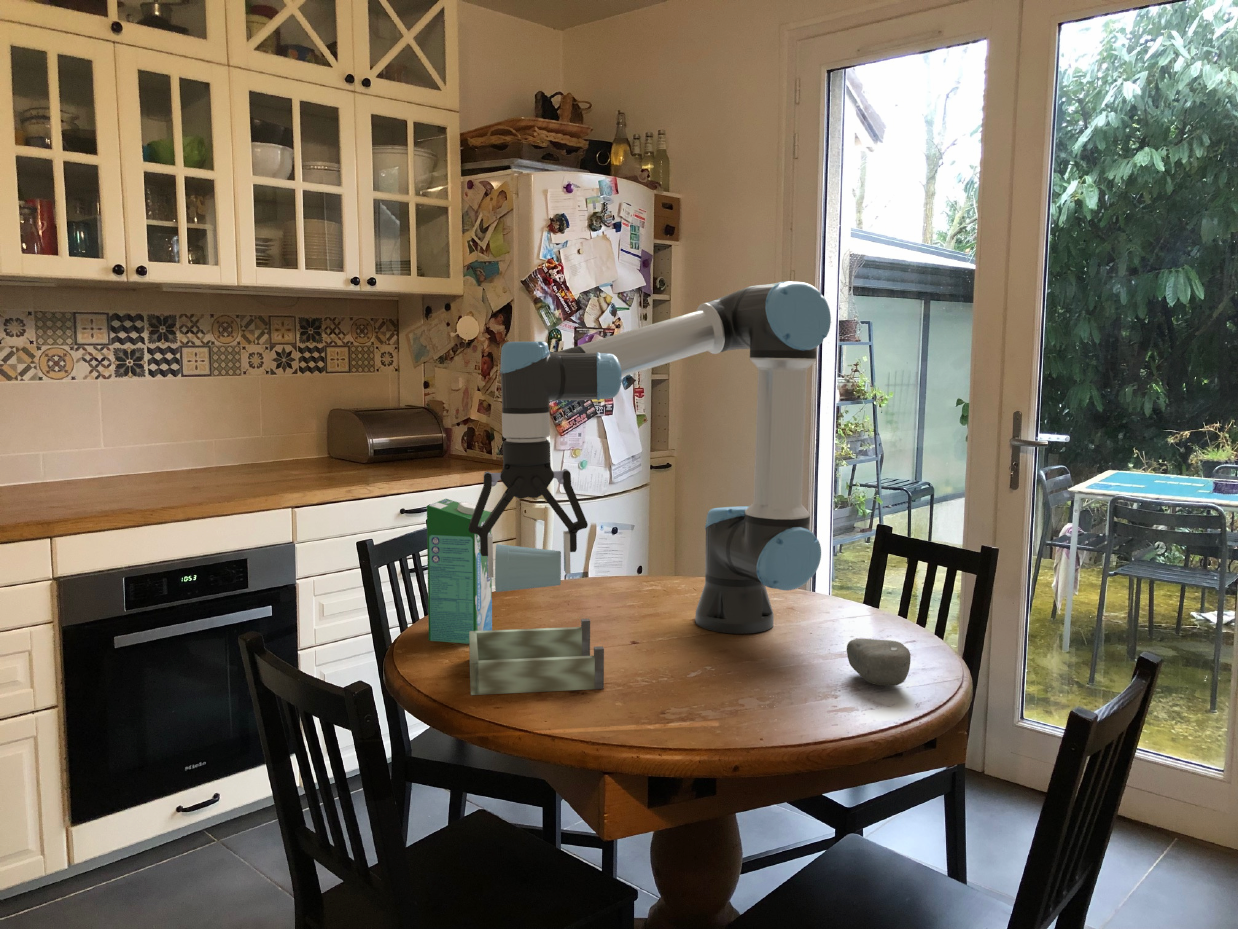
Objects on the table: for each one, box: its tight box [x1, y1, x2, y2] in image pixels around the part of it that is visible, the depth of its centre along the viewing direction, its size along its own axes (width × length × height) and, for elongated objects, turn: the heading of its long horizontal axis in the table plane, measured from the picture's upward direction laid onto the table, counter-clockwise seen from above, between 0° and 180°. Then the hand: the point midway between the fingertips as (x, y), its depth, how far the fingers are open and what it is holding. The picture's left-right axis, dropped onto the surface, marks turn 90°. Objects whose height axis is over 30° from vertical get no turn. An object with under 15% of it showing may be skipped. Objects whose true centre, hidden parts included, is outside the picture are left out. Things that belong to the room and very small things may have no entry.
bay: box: [468, 618, 605, 696], centre depth 158 cm, size 20×18×6 cm
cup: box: [494, 543, 562, 593], centre depth 157 cm, size 8×8×10 cm
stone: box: [846, 638, 911, 687], centre depth 156 cm, size 9×9×10 cm
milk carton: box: [426, 498, 493, 645], centre depth 178 cm, size 9×9×25 cm
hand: (529, 573), depth 157 cm, fingers closed on cup, 12 cm apart
